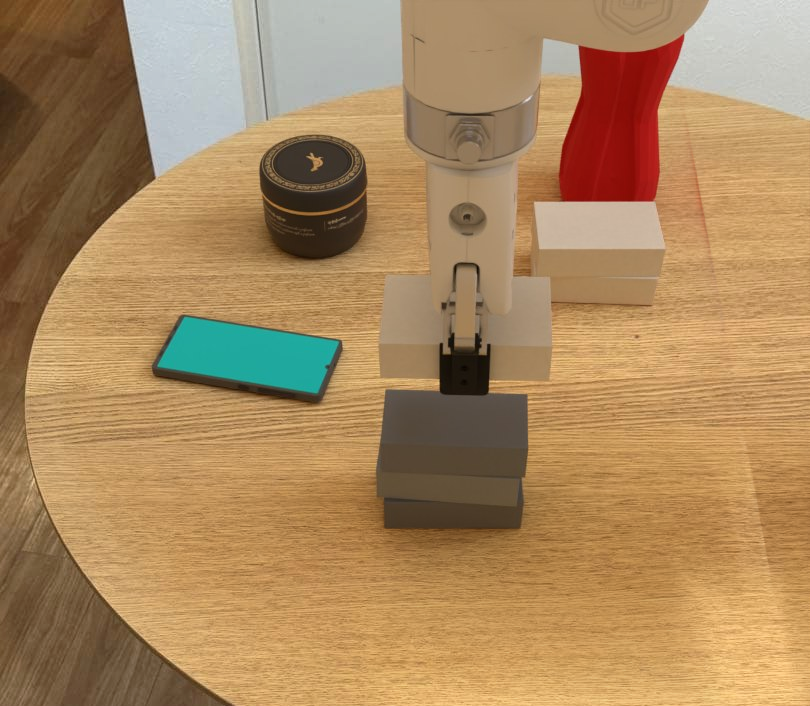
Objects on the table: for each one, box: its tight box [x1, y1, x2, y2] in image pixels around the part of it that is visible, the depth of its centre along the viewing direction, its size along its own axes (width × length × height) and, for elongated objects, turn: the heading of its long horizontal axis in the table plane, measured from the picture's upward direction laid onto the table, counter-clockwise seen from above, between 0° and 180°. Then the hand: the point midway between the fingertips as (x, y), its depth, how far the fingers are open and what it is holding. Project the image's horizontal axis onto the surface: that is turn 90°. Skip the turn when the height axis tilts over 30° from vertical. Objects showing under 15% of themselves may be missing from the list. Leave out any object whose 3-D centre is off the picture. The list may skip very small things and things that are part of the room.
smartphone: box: [151, 314, 344, 404], centre depth 99 cm, size 7×1×15 cm
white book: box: [378, 273, 554, 382], centre depth 76 cm, size 11×7×3 cm, turn 87°
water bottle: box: [558, 33, 686, 202], centre depth 106 cm, size 9×11×25 cm
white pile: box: [529, 201, 667, 306], centre depth 105 cm, size 11×8×6 cm
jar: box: [258, 133, 369, 259], centre depth 109 cm, size 10×10×8 cm
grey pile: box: [375, 388, 529, 529], centre depth 86 cm, size 11×6×9 cm, turn 87°
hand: (465, 350), depth 78 cm, fingers closed on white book, 7 cm apart
